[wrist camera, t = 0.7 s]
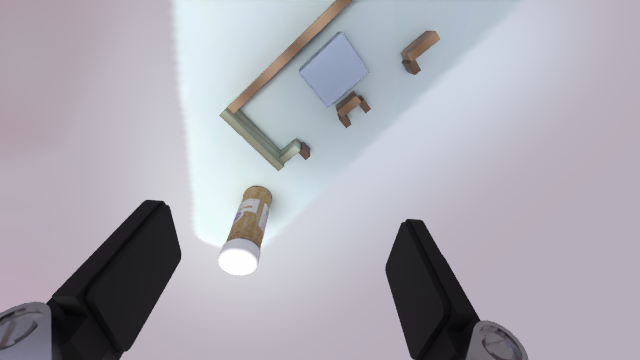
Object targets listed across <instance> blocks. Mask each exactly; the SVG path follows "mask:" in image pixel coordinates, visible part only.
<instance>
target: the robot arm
mask: <svg viewBox="0 0 640 360" xmlns="http://www.w3.org/2000/svg"><path fill="white" fill-rule="evenodd" d="M180 260H181V250H180V246H179V242H178V238H177V234H176V230H175V226H174V222H173V218H172V215H171V210H170V207H169V206H168V205H166V204H165V203H164V202H163V201H156V200H146V201H144V202H143V203H142V204H141V205H140V206H139V207H138V208H137V209H136V210H135V211H134V212H133V213H132V214H131V215H130V216H129V217H128V218H127V219H126V220H125V221H124V222H123V223H122V224H121V225H120V226H119V227H118V228H117V229H116V230H115V231H114V232H113V234H112V235H111V236H110V237H109V238H108V239H107V240H106V241H105V242H104V243H103V244H102V245H101V246H100V247H99V248H98V249H97V250H96V251H95V252H94V253H93V254H92V255H91V256H90V257H89V258H88V259H87V260H86V261H85V262H84V263H83V264H82V266H80V268H78V270H77V271H76V272H75V273H74V274H73V275H72V276H71V277H70V278H69V279H68V280H67V281H66V282H65V283H64V284H63V285H62V286H61V287H60V288H59V289H58V290H57V291H56V292H55V293H54V294H53V295H52V298H51V299H50V300H49V301H48V302H47V303H46V304H45V303H41V302H31V303H24V304H21V305H18V306H15V307H12V308H10V309H8V310H6V311H4V312H2V313H0V360H119V359H120V358H121V356H122V354H123V352H125V351H128V350H129V349H130V348H131V346H132V345H133V343H134V341H135V339H136V338H137V336H138V334H139V332H140V331H141V329H142V327H143V325H144V324H145V322H146V320H147V318H148V317H149V315H150V313H151V311H152V310H153V308H154V306H155V304H156V303H157V301H158V299H159V297H160V295H161V294H162V292H163V290H164V289H165V287H166V285H167V283H168V282H169V280H170V278H171V276H172V274H173V273H174V271H175V269H176V267H177V266H178V264H179V262H180ZM386 275H387V278H388V282H389V285H390V289H391V292H392V295H393V299H394V302H395V306H396V309H397V312H398V316H399V319H400V323H401V326H402V329H403V332H404V336H405V339H406V343H407V346H408V349H409V353H410V356H411V358H412V359H414V360H528V356H527V353H526V351H525V349H524V347H523V346H522V344H521V343H520V341H519V340H518V339H517V338H516V337H515V336H514V335H513V334H512V333H511V332H510V331H508V330H507V329H505V328H504V327H503V326H501V325H499V324H497V323H495V322H491V321H480V319H479V317H478V315H477V314H476V312H475V310H474V308H473V307H472V305H471V303H470V301H469V300H468V298H467V296H466V295H465V293H464V291H463V289H462V287H461V285H460V284H459V282H458V280H457V279H456V277H455V275H454V273H453V272H452V270H451V268H450V266H449V264H448V263H447V261H446V259H445V258H444V257H443V255H442V254H441V252H440V250H439V249H438V247H437V245H436V243H435V242H434V240H433V238H432V236H431V235H430V233H429V231H428V229H427V228H426V226H425V224H424V222H423V221H422V220H414V219H407V220H406V221H405V222H402V223H401V226H400V228H399V231H398V234H397V236H396V239H395V242H394V244H393V247H392V250H391V253H390V255H389V258H388V261H387V263H386Z"/></svg>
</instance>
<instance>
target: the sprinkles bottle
mask: <svg viewBox="0 0 640 360" xmlns="http://www.w3.org/2000/svg"><path fill="white" fill-rule="evenodd" d="M271 201H272V197H271V194H270V193H269V192H268V191H267V190H266V189H265V188H262V187H257V186H256V187H251V188H249V189H247V190H246V191H245V193H244V196H243V200H242V203H241V204H240V206H239V209H238V212H237V214H236V217H235V219H234V222H233V225H232V228H231V231H230V234H229V236H228V239H227V241H226V243H225V244H224V245H223V247H222V250H221V252H220V255H219V258H218V262H219V265H220V266H221V268H222V269H223V270H224V271H226V272H228V273H230V274H233V275H247V274H250V273H251V272H253V271H254V270H255V269H256V268H257V266H258V262H259V257H260V247H261V243H262V239H263V236H264V231H265V227H266V222H267V218H268V213H269V206H270V204H271Z"/></svg>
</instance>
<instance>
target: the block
mask: <svg viewBox="0 0 640 360" xmlns="http://www.w3.org/2000/svg"><path fill="white" fill-rule="evenodd" d="M368 73H369V71H368V69H367V68H366V66H365V65H364V63H363V62H362V60H361V59H360V58H359V56H358V55H357V53H356V52H355V50H354V49H353V47H352V46H351V44H350V43H349V41H348V40H347V38H346V37H345V36H344V34H343V33H342V32H338V33H337V34H335V35H334V36H333V37H332V38H331V39H330V40H329V41H328V42H327V43H326V44H325V45H324V46H323V47H322V48H321V49H320V50H319V51H318V52H317V53H316V54H314V55H313V56H312V57H311V58H310V59H309V60H308V61H307V62H306V63H305V64H304V65H303V66H302V67H301V68H300V70H299V74H300V75H301V76H302V77H303V78H304V80H305V81H306V82H307V83H308V84H309V86H310V87H311V88H312V89H313V91H314V92H315V93H316V94H317V95H318V97H319V98H320V99H321V100H322V101H323V103H324V104H325V105H326V106H327V107H329V106H330V105H331V104H332V103H334V102H335V101H336V100H337V99H338V98H340V97H341V96H342V95H343V94H344V93H345V92H347V91H348V90H349V89H350V88H351V87H352V86H354V85H355V84H356V83H357V82H358V81H360V80H361V79H362V78H363V77H364V76H365V75H367V74H368Z"/></svg>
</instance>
